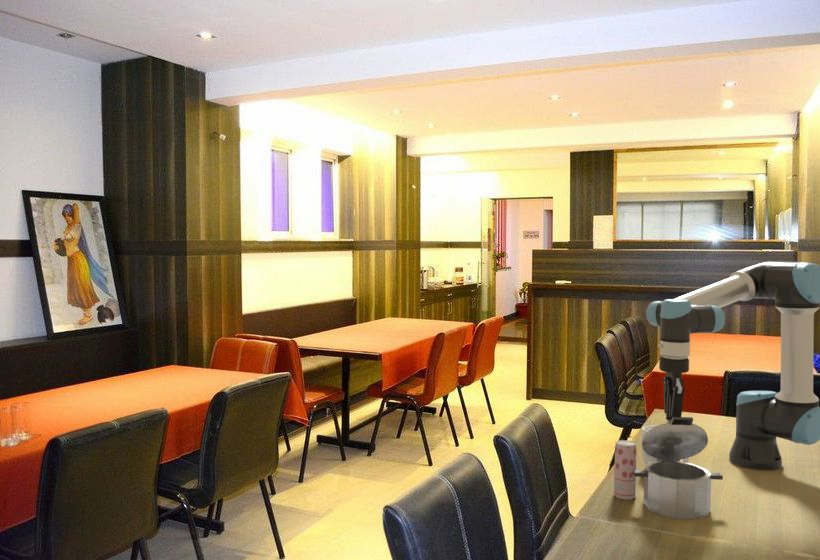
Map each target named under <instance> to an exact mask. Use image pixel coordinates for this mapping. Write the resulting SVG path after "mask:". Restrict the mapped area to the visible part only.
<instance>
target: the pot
mask: <svg viewBox="0 0 820 560" xmlns="http://www.w3.org/2000/svg"><path fill="white" fill-rule="evenodd" d="M633 475H634V476H635V477H636V478H637V477H640V478H643V505H644V506H645V508H646V509H647V510H648V511H650V512H652V513H654V514H656V515H659V516H663V517H666V518H672V519H677V520H698V519H704V518H707V517H708V516H709V514H710V513H711V507H712V505H711V504H712V503H711V498H712V496H711V495H712V494H711V493H712V480H716V481H717V480H720V481H721V480H723V478H724V477H723V476H724V475H722V473H720V472H710V471H709V470H708V469H707V468H705V467H702V466H699V465H697V464H695V463H690V462H688V463H684V462H683V461H680V462H679V461H656V462H650V463H648V464H647V465H644V468H643V469H642V470H641V469H636V470H633Z"/></svg>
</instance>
